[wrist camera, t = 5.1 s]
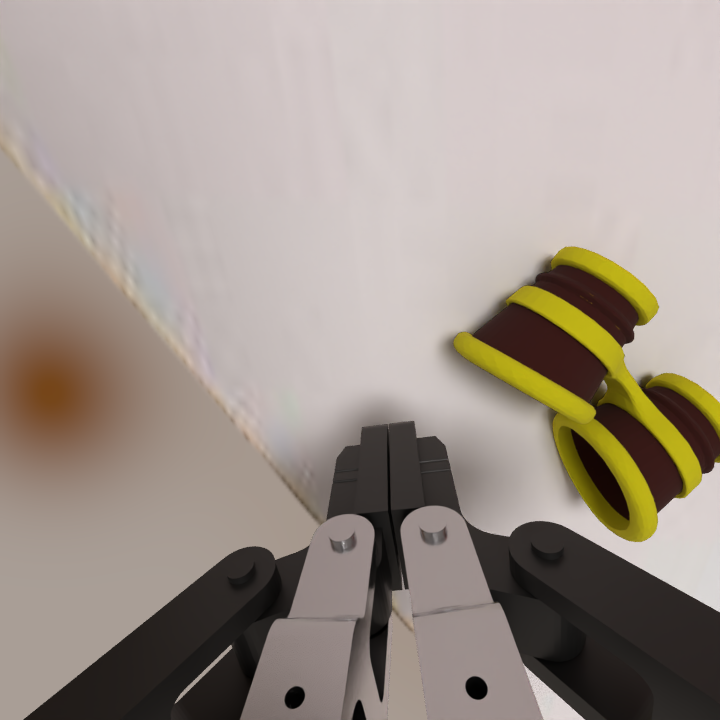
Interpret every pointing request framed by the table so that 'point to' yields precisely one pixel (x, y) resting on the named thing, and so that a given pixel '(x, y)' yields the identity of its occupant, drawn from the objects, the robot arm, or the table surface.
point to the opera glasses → (583, 377)
